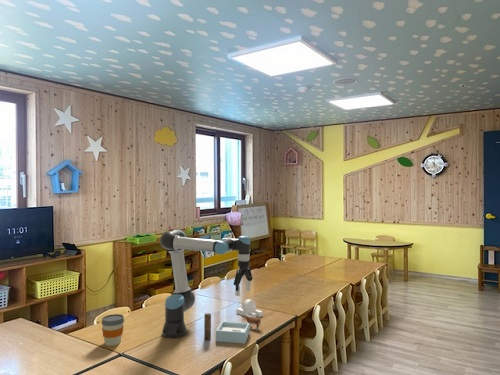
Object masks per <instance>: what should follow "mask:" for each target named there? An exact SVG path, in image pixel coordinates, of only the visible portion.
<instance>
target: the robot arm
mask: <svg viewBox="0 0 500 375" xmlns="http://www.w3.org/2000/svg"><path fill="white" fill-rule="evenodd" d="M186 235H187V234H186V233H185V232H183V231H182V230H180V229H173V230H170V231H166V232H164V233H162V235H161V236H160V238H159V245H160V246H161V247H162V248H163V249H165V250H167V252H168V253H169V254H170V259H171V267H172V273H173V279H174V287H175V289H174V290H173V294H171V295H168V296H167V297H166V299H165V303H164V305H165V306H164V307H165V310H164V313H165V314H164V317H165V319H164V321H165V322H164V325H163V328H162V332H161V334H162V336H163V337H165V338H168V339H169V338H170V339H177V338H182V337H184V336H185V335H186V334H187V331H188V330H187V326H186V323H185V312H187V311H188V310H189V309H191V308H192V307H193V305H194V304H195V302H196V301H195V300H196V296H195V294H194V292H192V288H191V287H190V286H189V281H188V276H187V275H188V274H187V268H186V261H185V254H184V251H185V250H189V251H197V252H199V251H200V252H209V253H216V254H218V255H224V254H226V253H228V252H230V251H238V252H237V266H238V267H239V269H238V268H237V269H236V272H235V276H234V277H235V278H234V281H233V286H235V289H234V290H235V294H234V295H235V297H236V296H237V297H240V296H241V285H240V284H241V282H242V278H243V277H244V276H245V278H246V284H245V285H246V286H245V290H246V291H247V292H251V282H252V281H253V274H252V270H251V266H250V263H251V262H250V257H251V254H250V253H251V237H250V236H248V235H239V236H238V238H230V237H229V238H228V237H224V238H221V239H220V240H216V239H207V238H197V237H195V238H194V237H187V236H186Z"/></svg>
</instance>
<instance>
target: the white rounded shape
mask: <svg viewBox="0 0 500 375" xmlns="http://www.w3.org/2000/svg"><path fill="white" fill-rule="evenodd" d="M256 306H257V304H256V302H255V301H254V300H253V299H249V298H248V299H246V300H244V303H243V304H242V308H240V307H237V308H236V310H235V311H236V312H235V314H237V315H241V316H243V317H245V316H244V315H246V314H248V315H250V316H252V317H254V318H257V317H258V318H261V317H263V316H264V314H263V313H264V312H263V310H261V309H256V308H257V307H256Z"/></svg>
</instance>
